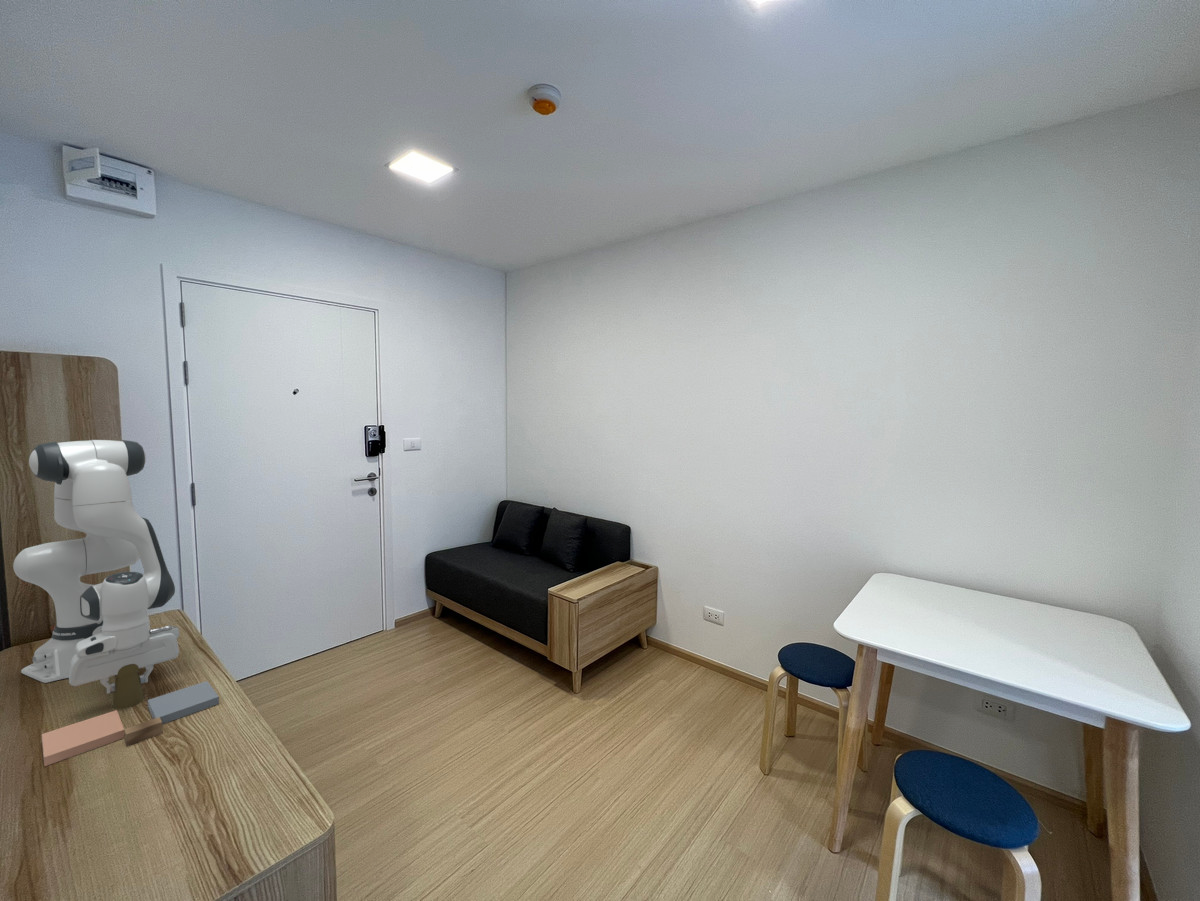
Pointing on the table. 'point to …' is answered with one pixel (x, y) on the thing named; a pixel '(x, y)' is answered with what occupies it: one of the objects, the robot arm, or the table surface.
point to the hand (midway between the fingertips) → (127, 687)
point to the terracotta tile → (81, 737)
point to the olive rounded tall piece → (127, 687)
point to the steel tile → (183, 702)
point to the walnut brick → (142, 731)
